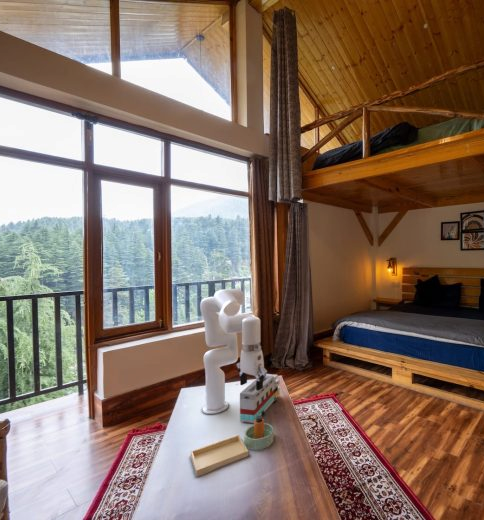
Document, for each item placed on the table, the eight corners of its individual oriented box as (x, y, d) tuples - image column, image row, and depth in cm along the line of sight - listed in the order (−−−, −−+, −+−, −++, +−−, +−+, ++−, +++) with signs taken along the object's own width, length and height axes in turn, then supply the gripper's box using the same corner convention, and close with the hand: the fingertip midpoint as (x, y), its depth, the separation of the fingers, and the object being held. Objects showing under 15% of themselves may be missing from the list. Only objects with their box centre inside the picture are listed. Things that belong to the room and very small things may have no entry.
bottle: (253, 440, 131) (252, 416, 131) (262, 437, 133) (262, 413, 133) (256, 445, 127) (256, 420, 127) (265, 441, 130) (265, 417, 130)
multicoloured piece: (280, 396, 173) (280, 370, 173) (254, 425, 143) (254, 394, 143) (267, 395, 174) (267, 369, 174) (239, 423, 145) (239, 393, 144)
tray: (190, 457, 121) (190, 451, 121) (238, 440, 132) (238, 434, 132) (196, 477, 110) (196, 470, 110) (248, 456, 121) (248, 450, 121)
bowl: (241, 440, 132) (241, 429, 132) (267, 431, 139) (267, 420, 139) (250, 455, 122) (250, 443, 122) (277, 444, 129) (277, 433, 129)
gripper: (272, 347, 125) (272, 388, 125) (244, 341, 134) (244, 379, 134) (259, 352, 119) (259, 395, 119) (230, 345, 128) (230, 385, 128)
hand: (251, 386), depth 127 cm, fingers open, 9 cm apart
